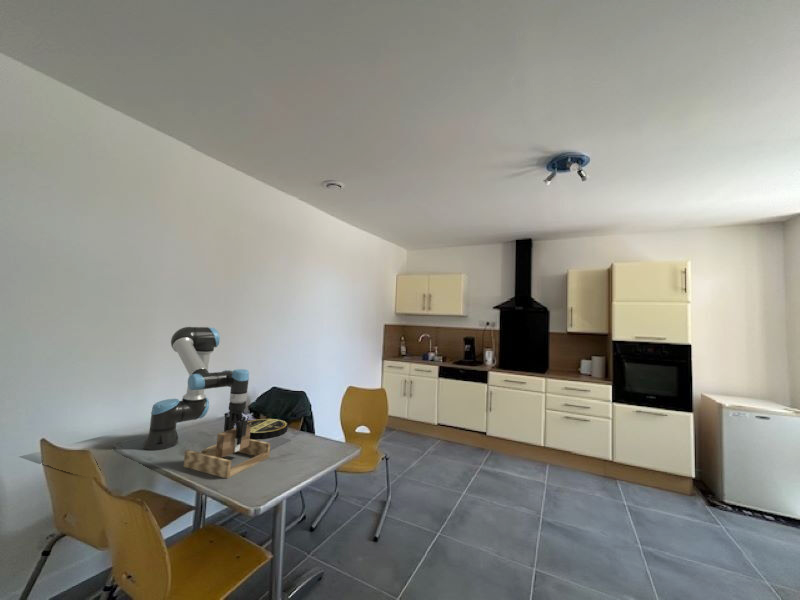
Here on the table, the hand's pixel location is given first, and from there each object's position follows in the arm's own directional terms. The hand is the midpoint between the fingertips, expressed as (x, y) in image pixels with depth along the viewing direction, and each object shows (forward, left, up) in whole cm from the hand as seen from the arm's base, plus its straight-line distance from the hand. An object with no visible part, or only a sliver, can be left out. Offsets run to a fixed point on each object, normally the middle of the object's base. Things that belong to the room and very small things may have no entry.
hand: (232, 450), depth 154 cm
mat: (0, +27, -6) cm, 28 cm away
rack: (-2, 0, -6) cm, 6 cm away
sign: (-21, +42, -6) cm, 47 cm away
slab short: (-12, 0, -3) cm, 12 cm away
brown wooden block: (0, 0, 0) cm, 0 cm away
